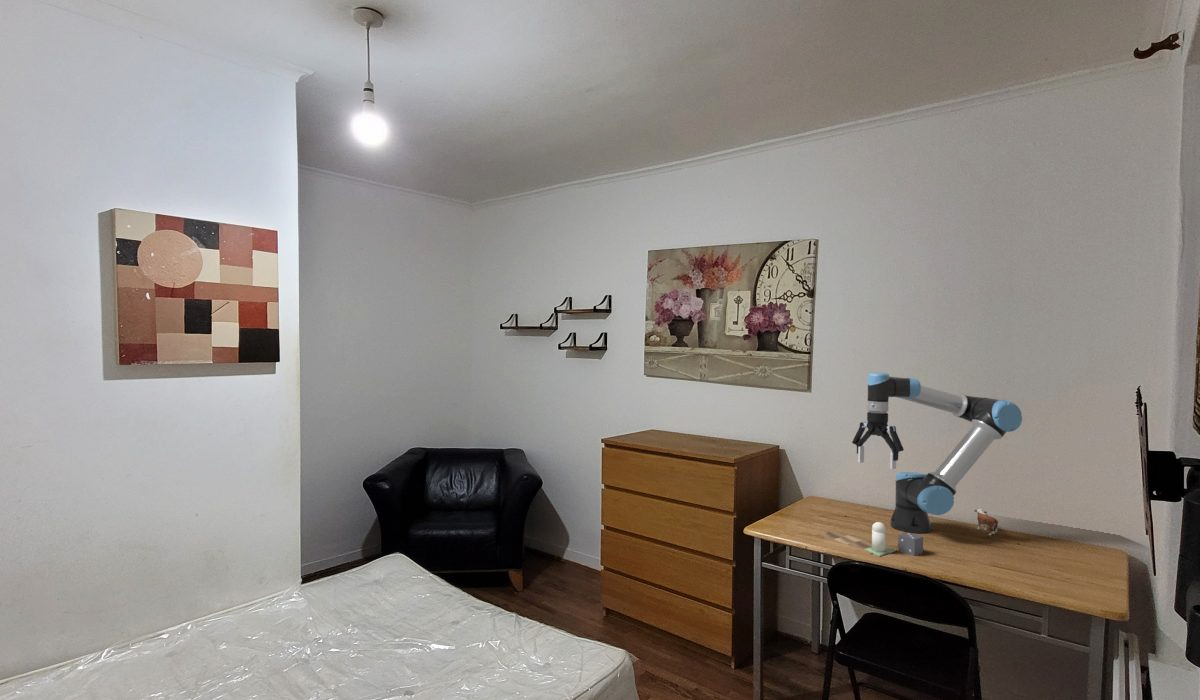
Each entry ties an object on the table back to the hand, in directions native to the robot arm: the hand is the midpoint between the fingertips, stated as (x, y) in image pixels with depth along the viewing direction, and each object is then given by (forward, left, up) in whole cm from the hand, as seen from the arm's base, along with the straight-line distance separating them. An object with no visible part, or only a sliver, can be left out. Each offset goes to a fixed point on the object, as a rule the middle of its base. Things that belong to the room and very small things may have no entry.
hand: (876, 465), depth 234 cm
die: (+3, +16, -29) cm, 33 cm away
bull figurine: (-47, +19, -29) cm, 58 cm away
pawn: (+14, +10, -28) cm, 33 cm away
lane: (+13, 0, -29) cm, 32 cm away
